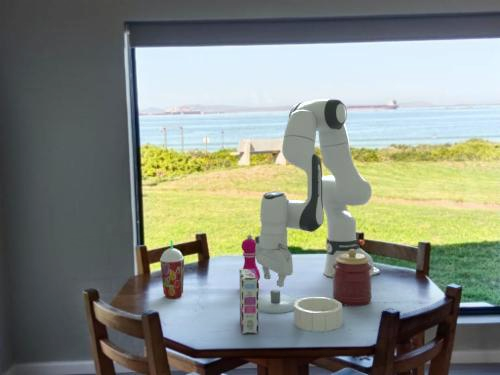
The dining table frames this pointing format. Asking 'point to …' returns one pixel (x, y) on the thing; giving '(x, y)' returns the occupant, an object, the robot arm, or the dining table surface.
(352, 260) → the canister
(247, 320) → the candy bar box
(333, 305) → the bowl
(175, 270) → the smoothie
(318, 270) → the dining table surface
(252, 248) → the pepper mill
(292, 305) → the lid
